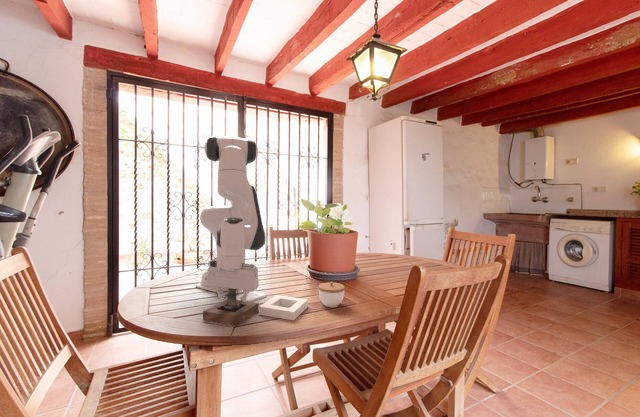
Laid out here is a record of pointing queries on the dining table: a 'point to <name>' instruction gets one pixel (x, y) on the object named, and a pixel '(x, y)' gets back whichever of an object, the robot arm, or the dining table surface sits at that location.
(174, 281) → the dining table surface
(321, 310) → the dining table surface
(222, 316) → the walnut holder
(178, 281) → the dining table surface
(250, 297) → the external hard drive
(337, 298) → the lidded jar
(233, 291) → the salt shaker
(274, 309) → the off-white holder
